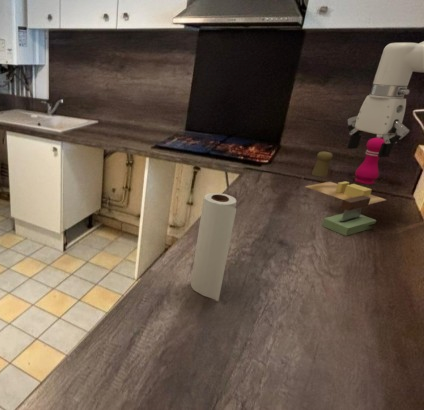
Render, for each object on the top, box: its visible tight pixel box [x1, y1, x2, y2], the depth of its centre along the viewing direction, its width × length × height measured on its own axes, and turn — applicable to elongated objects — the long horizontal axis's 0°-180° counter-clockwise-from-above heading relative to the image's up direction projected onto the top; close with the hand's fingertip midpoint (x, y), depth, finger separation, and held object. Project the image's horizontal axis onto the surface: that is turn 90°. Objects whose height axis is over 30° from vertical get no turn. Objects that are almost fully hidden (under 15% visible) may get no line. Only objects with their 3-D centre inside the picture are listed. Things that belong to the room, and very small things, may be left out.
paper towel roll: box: [190, 192, 238, 302], centre depth 74 cm, size 7×6×21 cm
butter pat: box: [336, 180, 350, 193], centre depth 128 cm, size 2×4×4 cm, turn 114°
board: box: [305, 181, 387, 206], centre depth 128 cm, size 20×14×2 cm
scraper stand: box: [321, 212, 377, 237], centre depth 105 cm, size 7×13×2 cm, turn 114°
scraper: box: [340, 195, 371, 223], centre depth 104 cm, size 2×9×9 cm, turn 114°
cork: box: [310, 151, 333, 178], centre depth 144 cm, size 6×6×11 cm
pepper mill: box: [354, 134, 385, 185], centre depth 136 cm, size 7×7×20 cm
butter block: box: [344, 183, 373, 198], centre depth 123 cm, size 6×4×4 cm, turn 24°
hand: (366, 152), depth 105 cm, fingers open, 9 cm apart
